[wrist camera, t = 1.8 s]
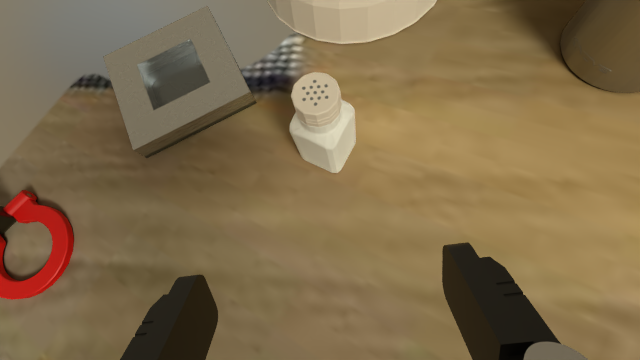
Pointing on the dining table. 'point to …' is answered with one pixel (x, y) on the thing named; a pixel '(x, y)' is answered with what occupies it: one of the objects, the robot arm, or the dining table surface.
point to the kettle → (349, 17)
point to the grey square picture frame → (176, 82)
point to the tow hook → (62, 248)
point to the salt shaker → (322, 122)
